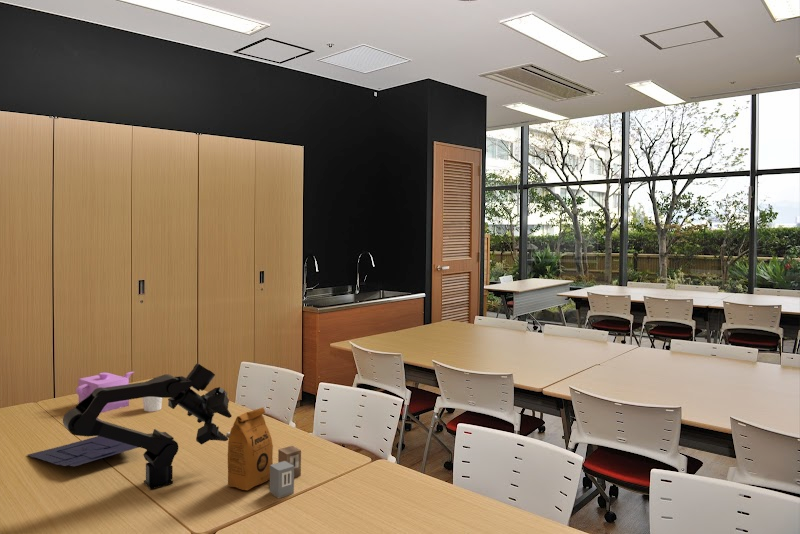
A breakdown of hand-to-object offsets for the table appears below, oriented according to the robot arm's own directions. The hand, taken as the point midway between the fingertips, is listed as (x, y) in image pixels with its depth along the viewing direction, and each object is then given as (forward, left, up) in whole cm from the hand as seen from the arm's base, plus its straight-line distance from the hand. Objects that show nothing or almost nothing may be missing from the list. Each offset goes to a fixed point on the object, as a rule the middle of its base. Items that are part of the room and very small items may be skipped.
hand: (228, 428), depth 187 cm
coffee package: (-1, -17, -12) cm, 21 cm away
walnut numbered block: (+11, -19, -12) cm, 25 cm away
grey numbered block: (+3, -28, -12) cm, 31 cm away
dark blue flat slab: (-33, +35, -12) cm, 50 cm away
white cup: (+1, +72, -12) cm, 73 cm away
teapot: (-12, +89, -12) cm, 91 cm away
